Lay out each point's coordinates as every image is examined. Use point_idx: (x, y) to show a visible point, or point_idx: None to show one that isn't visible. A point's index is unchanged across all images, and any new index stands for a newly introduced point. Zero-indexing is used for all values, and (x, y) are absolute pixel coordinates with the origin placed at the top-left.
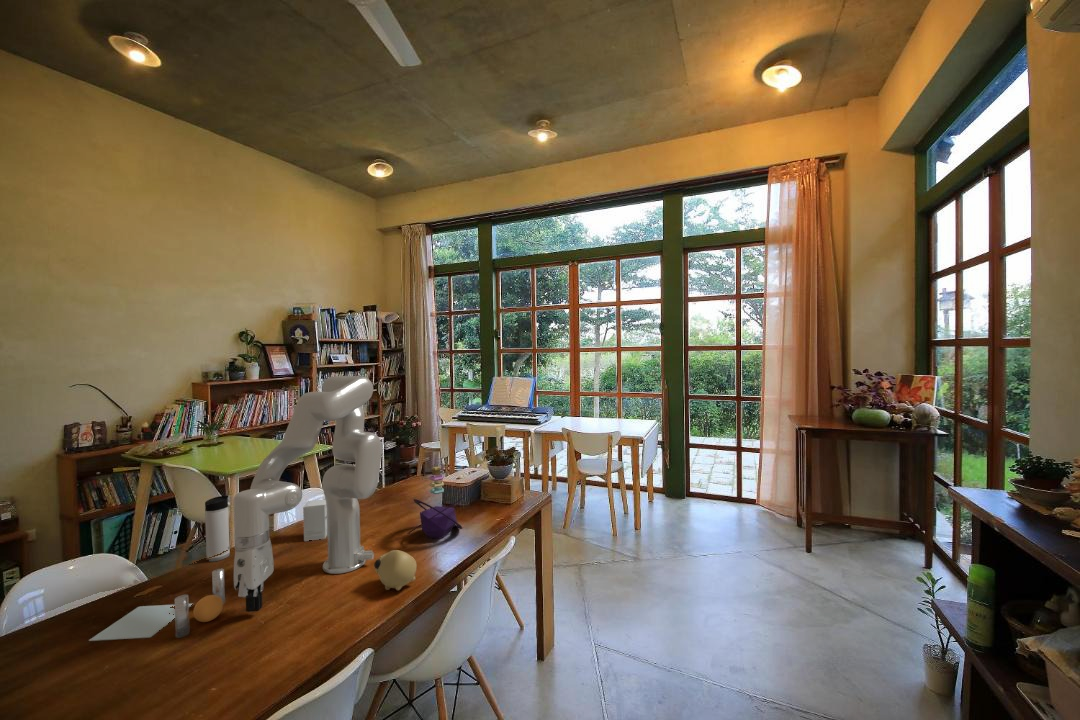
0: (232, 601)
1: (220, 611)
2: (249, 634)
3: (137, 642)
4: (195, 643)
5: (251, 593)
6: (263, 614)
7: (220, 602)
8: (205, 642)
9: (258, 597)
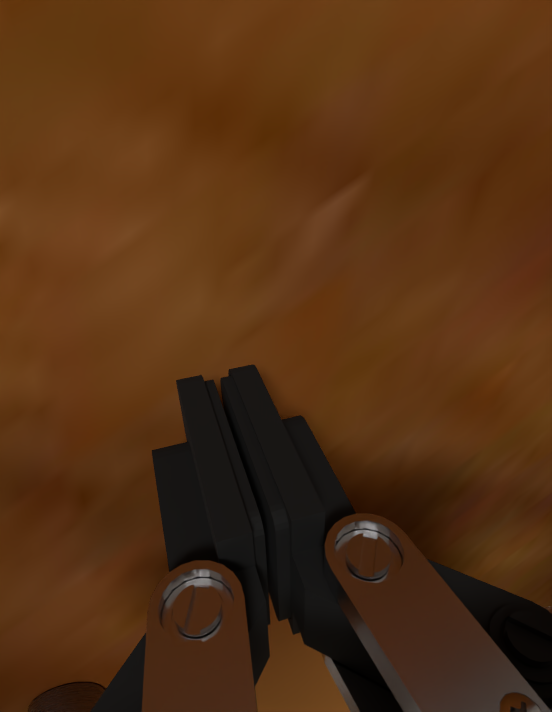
0: (14, 673)
1: (270, 616)
2: (518, 205)
3: None
4: (495, 482)
5: (477, 603)
6: (186, 310)
7: (290, 697)
8: (505, 442)
9: (311, 487)
